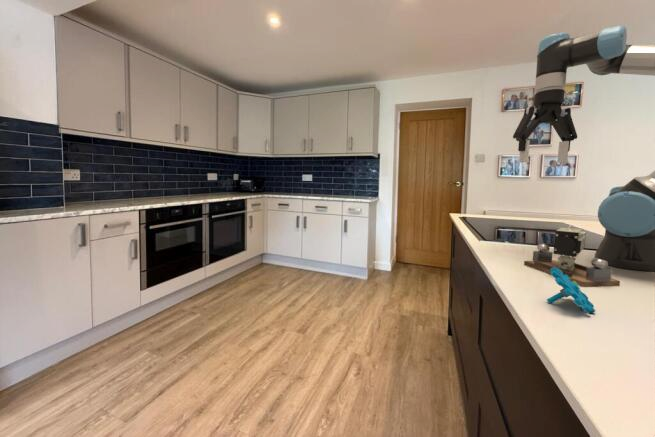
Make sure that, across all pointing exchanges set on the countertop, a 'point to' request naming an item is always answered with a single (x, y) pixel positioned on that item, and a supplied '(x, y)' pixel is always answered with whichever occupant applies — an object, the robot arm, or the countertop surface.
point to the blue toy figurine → (570, 291)
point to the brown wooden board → (571, 273)
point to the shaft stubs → (592, 273)
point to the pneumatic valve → (568, 246)
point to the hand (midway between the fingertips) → (542, 162)
